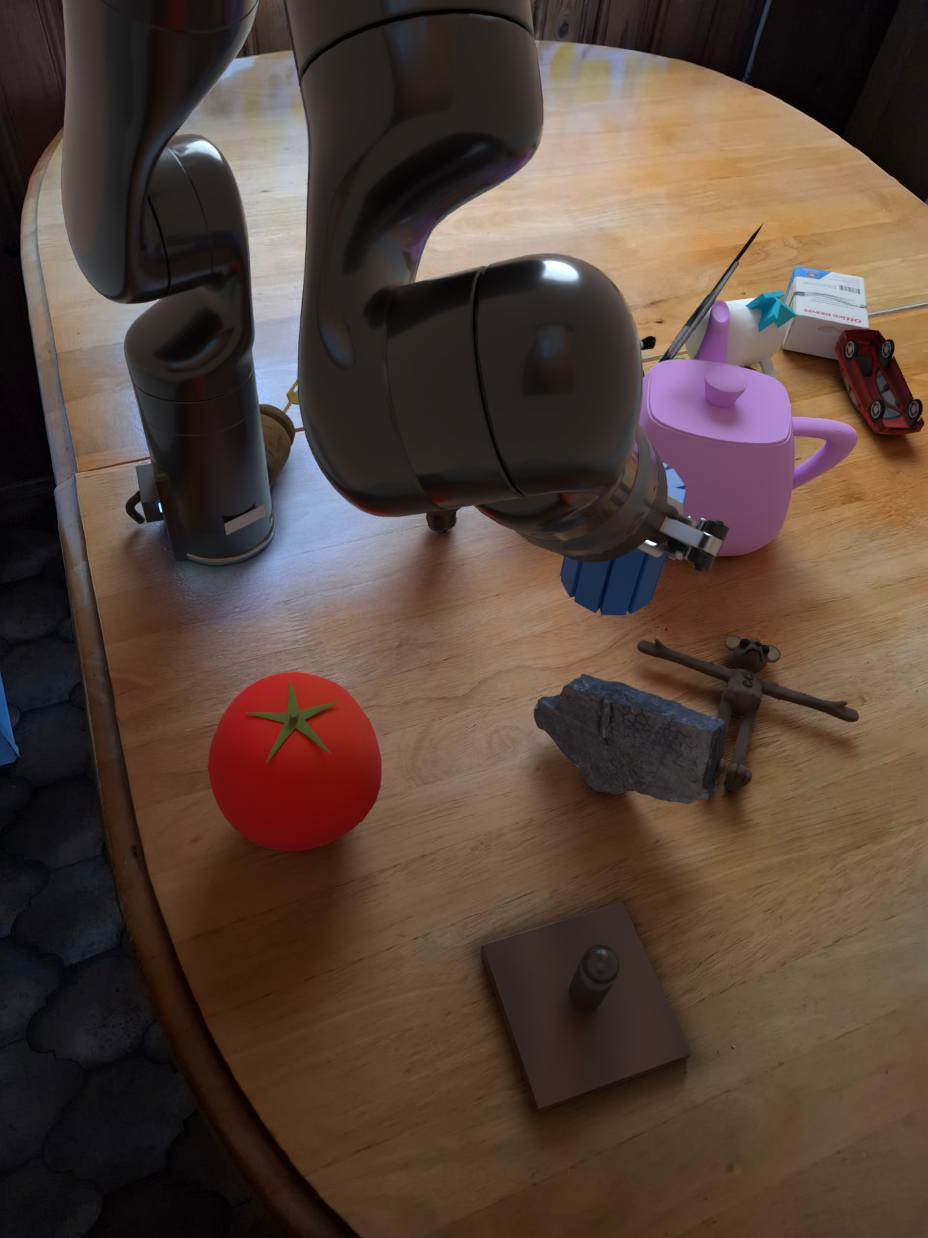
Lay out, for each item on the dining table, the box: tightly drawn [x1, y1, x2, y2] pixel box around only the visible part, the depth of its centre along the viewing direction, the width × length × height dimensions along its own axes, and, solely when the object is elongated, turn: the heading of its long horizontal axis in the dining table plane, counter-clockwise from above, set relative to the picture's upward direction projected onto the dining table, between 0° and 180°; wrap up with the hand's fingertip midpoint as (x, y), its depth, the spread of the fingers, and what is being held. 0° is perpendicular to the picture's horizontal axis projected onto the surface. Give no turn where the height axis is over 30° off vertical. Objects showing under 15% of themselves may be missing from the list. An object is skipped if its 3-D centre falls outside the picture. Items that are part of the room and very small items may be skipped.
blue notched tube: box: [559, 463, 687, 617], centre depth 59 cm, size 6×7×8 cm
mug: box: [684, 290, 796, 380], centre depth 99 cm, size 12×9×12 cm
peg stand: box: [480, 901, 692, 1115], centre depth 54 cm, size 10×10×8 cm
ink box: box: [782, 265, 871, 361], centre depth 109 cm, size 8×5×12 cm
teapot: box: [639, 299, 858, 557], centre depth 84 cm, size 23×21×15 cm
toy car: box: [834, 328, 925, 436], centre depth 100 cm, size 6×15×5 cm, turn 10°
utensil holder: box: [259, 379, 299, 488], centre depth 87 cm, size 6×6×12 cm
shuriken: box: [657, 222, 765, 363], centre depth 89 cm, size 24×1×21 cm, turn 154°
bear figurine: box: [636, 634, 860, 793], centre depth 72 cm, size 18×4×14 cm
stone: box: [533, 672, 727, 805], centre depth 65 cm, size 14×6×10 cm, turn 69°
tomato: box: [207, 671, 383, 852], centre depth 60 cm, size 11×11×13 cm
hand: (630, 519), depth 60 cm, fingers closed on blue notched tube, 6 cm apart
